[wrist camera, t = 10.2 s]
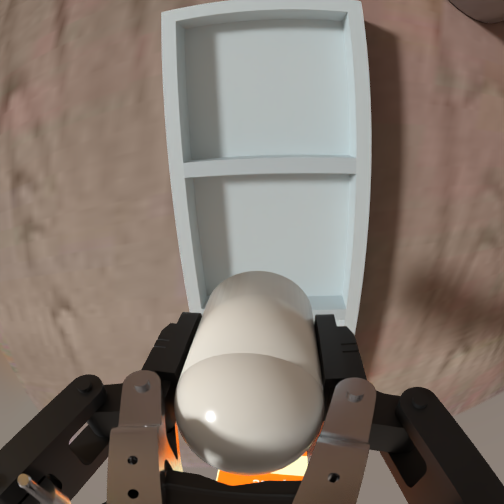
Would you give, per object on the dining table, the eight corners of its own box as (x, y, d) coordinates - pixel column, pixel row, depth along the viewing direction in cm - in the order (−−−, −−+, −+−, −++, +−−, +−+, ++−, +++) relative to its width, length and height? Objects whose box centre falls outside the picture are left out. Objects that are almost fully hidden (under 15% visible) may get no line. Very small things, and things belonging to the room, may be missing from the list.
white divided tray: (351, 15, 16) (361, 1, 13) (336, 385, 29) (339, 406, 27) (175, 24, 17) (161, 12, 15) (215, 384, 31) (209, 405, 28)
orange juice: (231, 402, 32) (200, 565, 14) (306, 414, 32) (306, 573, 13) (224, 435, 35) (197, 569, 17) (289, 445, 35) (282, 577, 16)
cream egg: (315, 270, 12) (346, 421, 5) (309, 357, 14) (319, 495, 7) (199, 270, 12) (133, 410, 6) (212, 356, 14) (177, 487, 8)
